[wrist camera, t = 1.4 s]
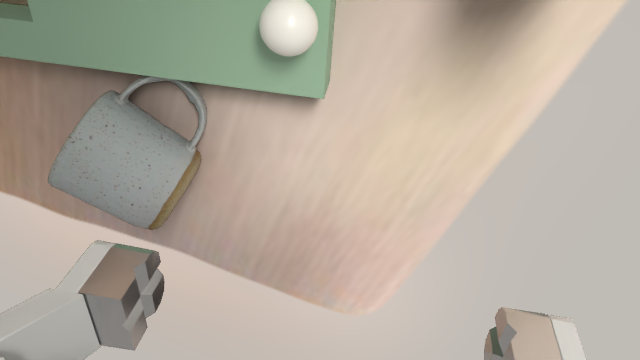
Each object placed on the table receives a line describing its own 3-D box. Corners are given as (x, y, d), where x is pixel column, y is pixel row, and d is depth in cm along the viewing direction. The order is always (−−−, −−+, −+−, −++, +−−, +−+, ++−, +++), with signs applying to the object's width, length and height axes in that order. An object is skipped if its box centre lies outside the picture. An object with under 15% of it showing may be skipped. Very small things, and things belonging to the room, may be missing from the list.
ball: (267, -16, 27) (251, 2, 24) (324, -10, 27) (314, 9, 24) (267, 40, 29) (252, 62, 26) (320, 46, 29) (311, 69, 26)
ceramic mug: (180, 194, 41) (140, 259, 35) (90, 140, 39) (31, 200, 33) (239, 106, 35) (203, 166, 29) (137, 38, 33) (75, 88, 27)
